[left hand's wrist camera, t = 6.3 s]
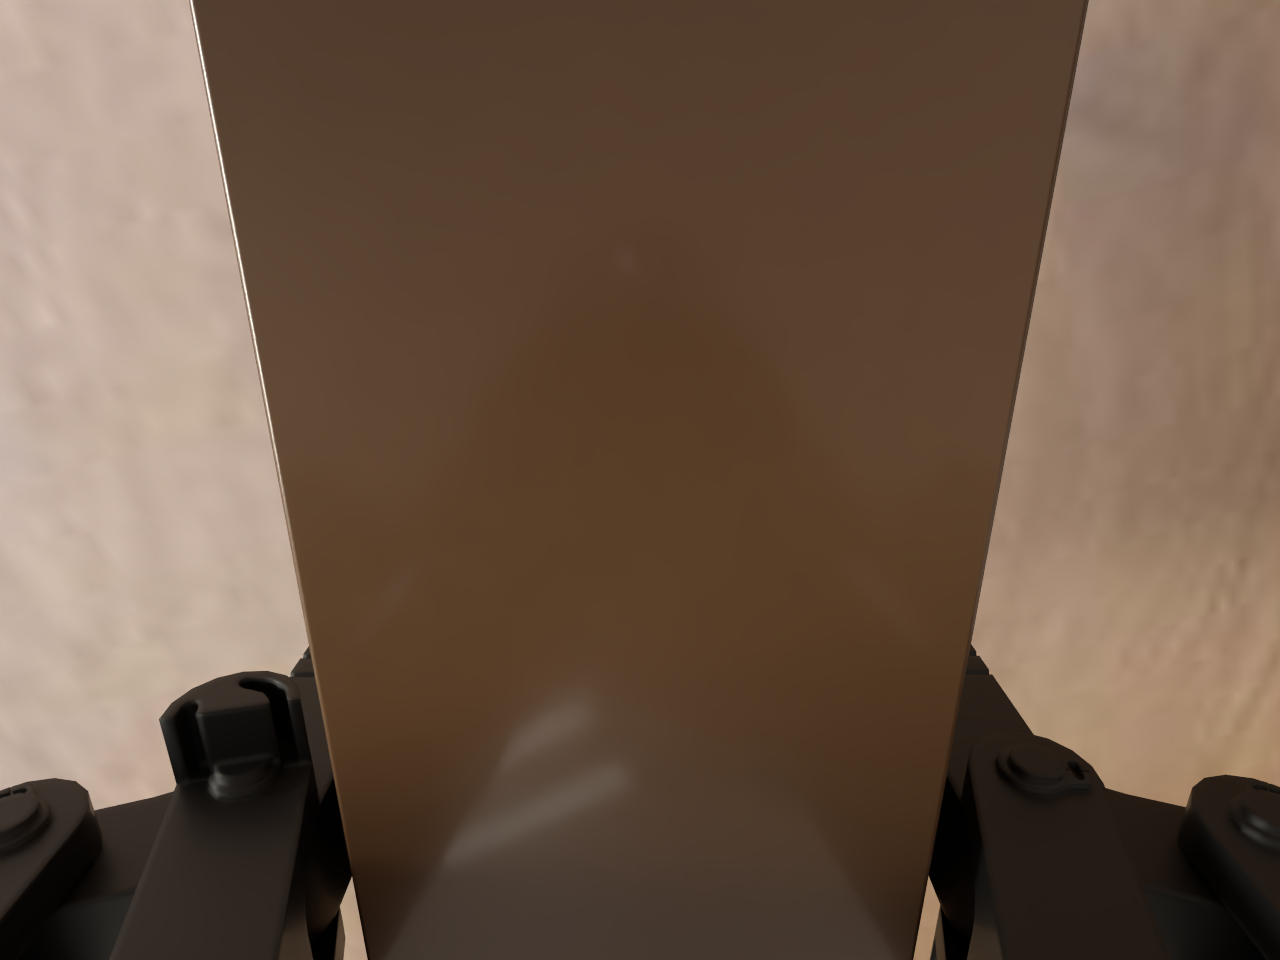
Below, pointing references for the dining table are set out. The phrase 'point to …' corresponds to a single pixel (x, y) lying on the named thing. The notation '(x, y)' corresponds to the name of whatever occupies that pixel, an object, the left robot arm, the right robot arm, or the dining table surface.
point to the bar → (639, 440)
